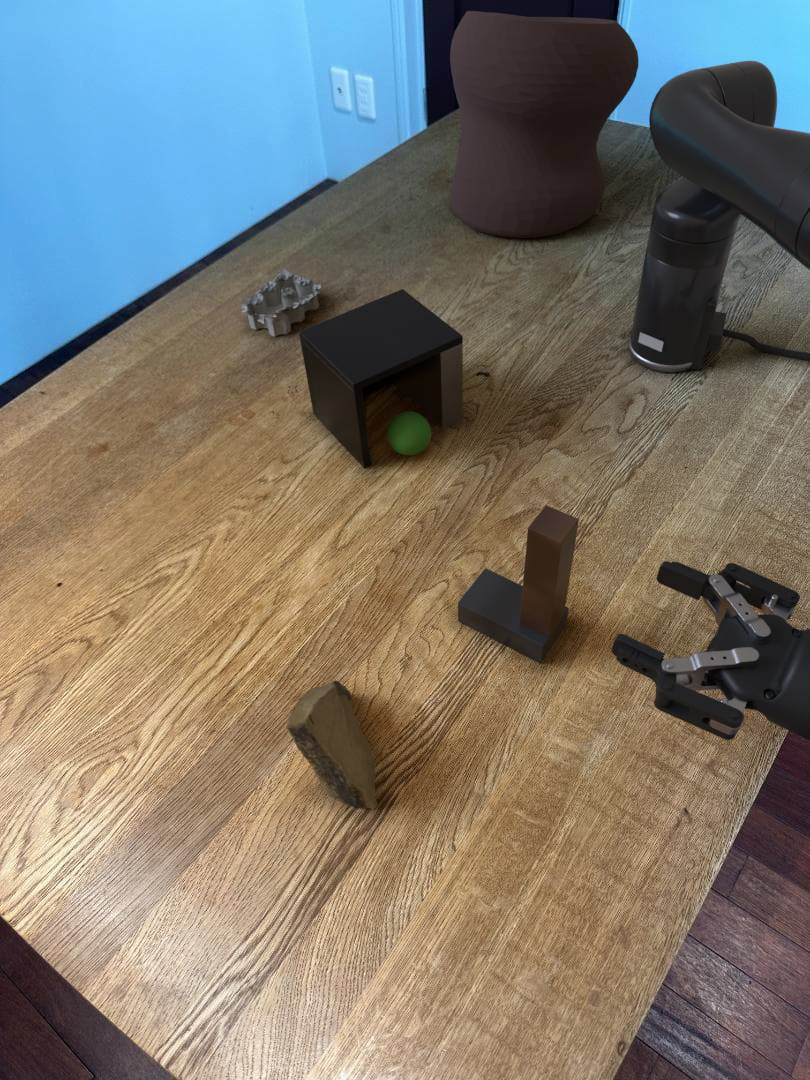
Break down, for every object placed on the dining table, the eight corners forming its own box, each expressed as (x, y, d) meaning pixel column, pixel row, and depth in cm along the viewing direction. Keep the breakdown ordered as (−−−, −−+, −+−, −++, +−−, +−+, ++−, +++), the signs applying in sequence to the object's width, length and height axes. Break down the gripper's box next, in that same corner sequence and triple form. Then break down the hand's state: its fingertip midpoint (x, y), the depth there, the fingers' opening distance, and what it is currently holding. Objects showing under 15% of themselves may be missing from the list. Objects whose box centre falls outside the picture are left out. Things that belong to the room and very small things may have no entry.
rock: (298, 663, 73) (245, 753, 66) (347, 626, 67) (294, 720, 60) (389, 733, 75) (347, 827, 68) (444, 703, 69) (404, 802, 62)
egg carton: (280, 341, 110) (274, 315, 107) (239, 325, 114) (233, 300, 110) (328, 303, 116) (324, 277, 113) (288, 288, 119) (283, 263, 116)
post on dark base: (566, 626, 77) (585, 511, 65) (540, 664, 74) (555, 551, 62) (484, 586, 81) (488, 470, 69) (457, 621, 78) (456, 506, 66)
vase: (629, 240, 123) (667, 13, 100) (451, 248, 124) (448, 25, 102) (603, 161, 140) (630, -47, 118) (447, 169, 142) (444, -36, 119)
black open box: (463, 420, 98) (462, 335, 88) (364, 468, 93) (353, 384, 84) (408, 371, 104) (402, 288, 95) (313, 414, 100) (298, 331, 91)
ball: (437, 439, 95) (436, 406, 92) (423, 468, 92) (421, 434, 89) (397, 432, 97) (394, 399, 93) (382, 459, 94) (379, 426, 90)
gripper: (895, 603, 59) (681, 518, 66) (839, 754, 52) (604, 641, 58) (858, 660, 65) (664, 576, 71) (803, 804, 57) (592, 695, 64)
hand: (637, 605), depth 65 cm, fingers open, 8 cm apart
